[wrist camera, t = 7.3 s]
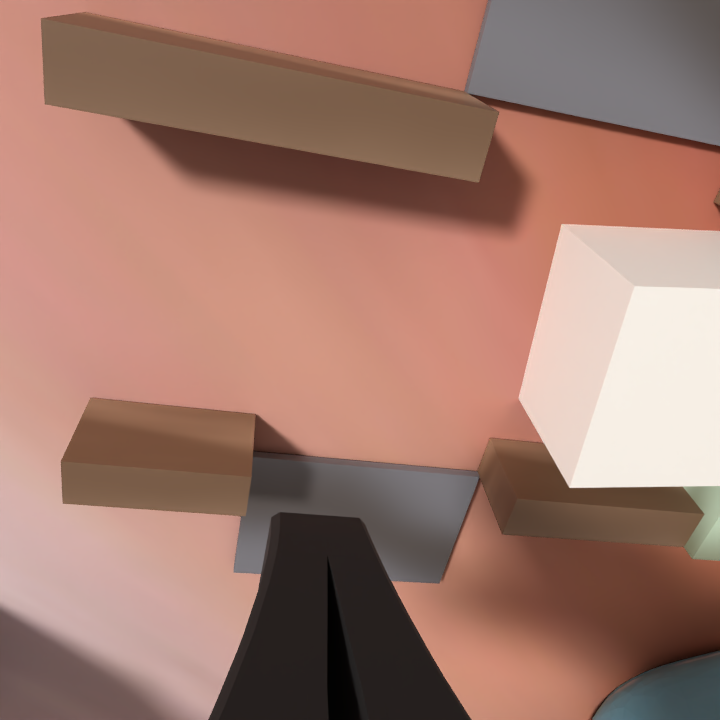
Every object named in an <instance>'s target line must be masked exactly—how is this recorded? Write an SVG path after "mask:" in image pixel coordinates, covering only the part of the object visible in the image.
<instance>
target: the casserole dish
mask: <svg viewBox="0 0 720 720" xmlns="http://www.w3.org/2000/svg"><path fill="white" fill-rule="evenodd" d="M592 720H720V651H715V652H711V653H707V654H703V655H699V656H695V657H691V658H688V659H684V660H680V661H676V662H673V663H669V664H666V665H663V666H660V667H657V668H654V669H652V670H649V671H646V672H644V673H642V674H640V675H638V676H636V677H634V678H632V679H630V680H628V681H627V682H625V683H623V684H622V685H620V686H619V687H617V688H616V689H615V690H614V691H613V692H612V693H611V694H610V695H609V696H608V697H607V698H606V699H605V701H604V702H603V704H602V705H601V707H600V708H599V709H598V711H597V712H596V714H595V715H594V717H593V718H592Z"/></svg>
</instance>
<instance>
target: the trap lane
mask: <svg viewBox="0 0 720 720" xmlns="http://www.w3.org/2000/svg"><path fill="white" fill-rule="evenodd" d="M41 30H42V52H43V74H44V97H45V104H47V105H52V106H58V107H63V108H69V109H74V110H80V111H85V112H91V113H96V114H102V115H107V116H113V117H118V118H124V119H130V120H135V121H141V122H146V123H152V124H157V125H163V126H168V127H174V128H179V129H185V130H190V131H196V132H201V133H207V134H212V135H218V136H223V137H229V138H234V139H240V140H245V141H251V142H257V143H262V144H268V145H273V146H279V147H284V148H290V149H295V150H301V151H306V152H312V153H317V154H323V155H328V156H334V157H339V158H345V159H350V160H356V161H361V162H367V163H372V164H378V165H384V166H389V167H395V168H400V169H406V170H411V171H417V172H422V173H428V174H433V175H439V176H444V177H450V178H455V179H461V180H466V181H472V182H477V183H479V180H480V177H481V173H482V170H483V166H484V163H485V159H486V156H487V153H488V149H489V146H490V142H491V139H492V135H493V132H494V128H495V125H496V122H497V118H498V115H499V112H498V111H496V110H495V109H493V108H491V107H490V106H488V105H486V104H485V103H483V102H481V101H480V100H478V99H476V98H475V97H473V96H471V95H470V94H474V95H478V96H483V97H488V98H493V99H498V100H502V101H507V102H512V103H517V104H522V105H526V106H531V107H536V108H541V109H546V110H550V111H555V112H560V113H565V114H569V115H574V116H579V117H584V118H589V119H593V120H598V121H603V122H608V123H613V124H617V125H622V126H627V127H632V128H637V129H641V130H646V131H651V132H656V133H661V134H665V135H670V136H675V137H680V138H684V139H689V140H694V141H699V142H704V143H708V144H713V145H718V146H720V0H488V3H487V7H486V10H485V14H484V18H483V22H482V26H481V30H480V33H479V37H478V41H477V45H476V49H475V53H474V56H473V60H472V64H471V68H470V72H469V76H468V79H467V83H466V87H465V91H460V90H455V89H450V88H446V87H441V86H436V85H431V84H427V83H422V82H417V81H412V80H407V79H403V78H398V77H393V76H388V75H383V74H379V73H374V72H369V71H364V70H360V69H355V68H350V67H345V66H340V65H336V64H331V63H326V62H321V61H317V60H312V59H307V58H302V57H297V56H293V55H288V54H283V53H278V52H273V51H269V50H264V49H259V48H254V47H250V46H245V45H240V44H235V43H230V42H226V41H221V40H216V39H211V38H206V37H202V36H197V35H192V34H187V33H183V32H178V31H173V30H168V29H163V28H159V27H154V26H149V25H144V24H140V23H135V22H130V21H125V20H120V19H116V18H111V17H106V16H101V15H96V14H92V13H87V12H83V13H76V14H68V15H61V16H54V17H47V18H41ZM468 93H469V94H468ZM714 202H715V203H717V204H719V205H720V190H719V192H718V194H717V196H716V198H715V201H714ZM255 417H256V414H247V413H237V412H227V411H217V410H207V409H197V408H188V407H178V406H168V405H158V404H148V403H138V402H128V401H118V400H108V399H98V398H90V400H89V403H88V405H87V407H86V409H85V411H84V413H83V415H82V417H81V420H80V422H79V424H78V426H77V428H76V430H75V432H74V435H73V437H72V439H71V441H70V443H69V445H68V447H67V449H66V452H65V454H64V456H63V458H62V460H61V475H62V497H63V504H77V505H91V506H105V507H120V508H134V509H148V510H162V511H176V512H191V513H205V514H219V515H233V516H241V521H240V528H239V535H238V542H237V549H236V556H235V563H234V572H235V573H253V574H261V572H262V566H263V561H264V555H265V549H266V544H267V538H268V532H269V527H270V521H271V517H272V516H274V515H276V514H277V513H279V512H287V513H301V514H315V515H328V516H342V517H356V518H360V519H361V520H362V521H363V522H364V524H365V526H366V528H367V530H368V533H369V535H370V537H371V539H372V542H373V544H374V546H375V548H376V551H377V553H378V555H379V557H380V559H381V561H382V563H383V565H384V568H385V570H386V572H387V574H388V576H389V578H390V580H391V581H403V582H421V583H440V580H441V578H442V575H443V572H444V570H445V567H446V565H447V562H448V559H449V557H450V554H451V551H452V549H453V546H454V543H455V541H456V538H457V535H458V533H459V530H460V528H461V525H462V522H463V520H464V517H465V514H466V512H467V509H468V506H469V504H470V501H471V498H472V496H473V493H474V490H475V488H476V485H477V483H478V480H479V477H480V479H481V482H482V484H483V487H484V489H485V492H486V494H487V497H488V500H489V502H490V505H491V507H492V510H493V512H494V515H495V517H496V520H497V522H498V525H499V527H500V530H501V532H502V534H504V535H518V536H532V537H546V538H561V539H575V540H589V541H603V542H618V543H632V544H646V545H660V546H674V547H684V548H685V549H686V551H687V552H688V554H689V555H690V556H691V558H692V559H702V560H717V561H720V486H681V487H603V488H569V486H568V484H567V483H566V481H565V479H564V477H563V476H562V474H561V472H560V470H559V469H558V467H557V465H556V463H555V462H554V460H553V458H552V456H551V455H550V453H549V451H548V449H547V448H546V446H545V444H544V443H535V442H525V441H515V440H505V439H496V438H490V439H489V442H488V444H487V447H486V450H485V452H484V455H483V458H482V460H481V463H480V466H479V468H478V471H468V470H457V469H445V468H434V467H423V466H412V465H401V464H390V463H378V462H367V461H356V460H345V459H334V458H323V457H312V456H300V455H289V454H278V453H267V452H256V451H253V447H254V432H255Z"/></svg>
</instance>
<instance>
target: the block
mask: <svg viewBox="0 0 720 720" xmlns="http://www.w3.org/2000/svg"><path fill="white" fill-rule="evenodd" d="M519 400H520V402H521V404H522V406H523V407H524V409H525V411H526V413H527V414H528V416H529V418H530V420H531V421H532V423H533V425H534V427H535V428H536V430H537V432H538V434H539V435H540V437H541V439H542V441H543V442H544V444H545V446H546V448H547V449H548V451H549V453H550V455H551V456H552V458H553V460H554V462H555V463H556V465H557V467H558V469H559V470H560V472H561V474H562V476H563V477H564V479H565V481H566V483H567V484H568V486H569V488H603V487H681V486H720V231H706V230H683V229H661V228H639V227H616V226H594V225H572V224H562V225H561V229H560V233H559V237H558V241H557V245H556V249H555V253H554V257H553V261H552V265H551V270H550V274H549V278H548V282H547V286H546V290H545V294H544V298H543V302H542V306H541V310H540V314H539V318H538V322H537V326H536V330H535V334H534V338H533V342H532V346H531V350H530V354H529V358H528V362H527V367H526V371H525V375H524V379H523V383H522V387H521V391H520V395H519Z"/></svg>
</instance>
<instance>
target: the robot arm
mask: <svg viewBox="0 0 720 720" xmlns="http://www.w3.org/2000/svg"><path fill="white" fill-rule="evenodd" d="M208 720H471V718H470V717H469V715H468V714H467V712H466V711H465V709H464V708H463V706H462V704H461V703H460V701H459V700H458V698H457V696H456V695H455V693H454V692H453V690H452V689H451V687H450V685H449V684H448V682H447V681H446V679H445V677H444V676H443V674H442V672H441V671H440V669H439V667H438V666H437V664H436V662H435V661H434V659H433V657H432V656H431V654H430V652H429V650H428V649H427V647H426V645H425V643H424V641H423V640H422V638H421V636H420V634H419V632H418V631H417V629H416V627H415V625H414V624H413V622H412V620H411V618H410V616H409V615H408V613H407V611H406V609H405V607H404V605H403V603H402V601H401V599H400V598H399V596H398V594H397V592H396V590H395V588H394V586H393V584H392V582H391V580H390V578H389V576H388V574H387V572H386V570H385V568H384V565H383V563H382V561H381V559H380V557H379V555H378V553H377V551H376V548H375V546H374V544H373V542H372V539H371V537H370V535H369V533H368V530H367V528H366V526H365V524H364V522H363V521H362V520H361V519H360V518H356V517H342V516H328V515H315V514H301V513H287V512H279V513H277V514H276V515H274V516H272V517H271V521H270V527H269V532H268V538H267V544H266V549H265V555H264V561H263V566H262V572H261V577H260V583H259V589H258V593H257V596H256V599H255V602H254V605H253V608H252V611H251V614H250V617H249V620H248V623H247V626H246V629H245V632H244V635H243V637H242V640H241V643H240V645H239V648H238V650H237V653H236V655H235V658H234V660H233V663H232V665H231V667H230V670H229V672H228V675H227V677H226V680H225V682H224V685H223V687H222V689H221V692H220V694H219V697H218V699H217V701H216V704H215V706H214V708H213V711H212V713H211V715H210V717H209V719H208Z"/></svg>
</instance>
